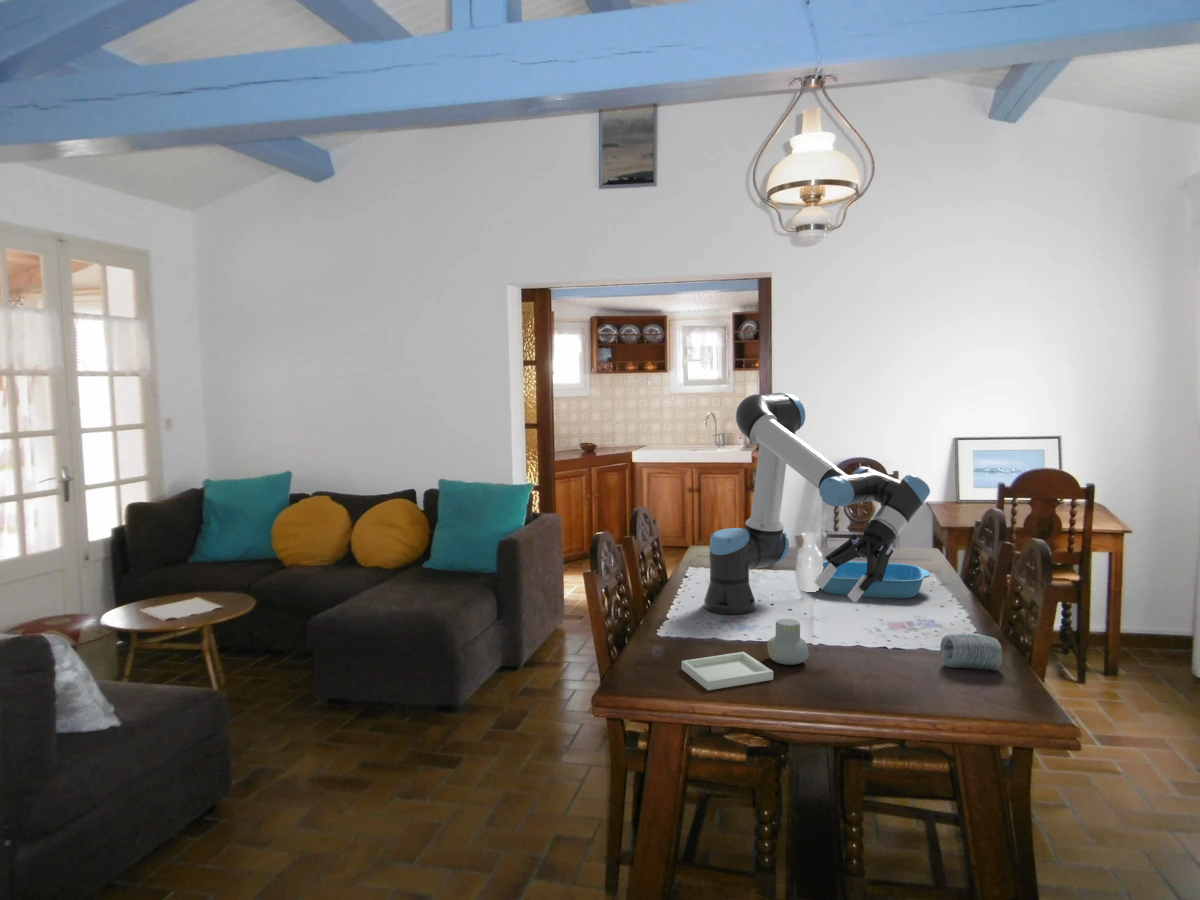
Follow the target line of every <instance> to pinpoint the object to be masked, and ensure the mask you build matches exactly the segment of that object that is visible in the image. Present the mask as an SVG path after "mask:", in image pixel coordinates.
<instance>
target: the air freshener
mask: <svg viewBox="0 0 1200 900" xmlns="http://www.w3.org/2000/svg"><path fill="white" fill-rule="evenodd" d="M766 646H767V652H768V655H769V658H770V659H771V660H772V661H773V662H775V663H777V664H780V665H787V666H794V665H795V666H796V665H799V664H801V663H803V662H805V661H806V660H808V659H809V653H810V652H809V647H808V644H807V642H806V640H804V638H802V637H801V622H800V621H798V620H796V619H792V618H780V619H778V620H776V622H775V636H772V637H771V638H770V639H769V640H768V641H767V645H766Z"/></svg>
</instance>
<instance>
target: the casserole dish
mask: <svg viewBox="0 0 1200 900" xmlns="http://www.w3.org/2000/svg"><path fill="white" fill-rule="evenodd" d="M822 561H823V567H824V568H825V567H826V565H827V564H828V561H827V560H822ZM836 563H837V562H836ZM866 573H867V561H856V560H850V561H848V562H846V563H844V564H842V565H840V566H838V567H837V571H836V572H835V574H834V575H833V576H832V577H831V579H830V580H829V581H828V582H827V584H826V585H825V586H824V588H823V589H821V590H822V591H823V592H824V593H827V594H829V595H836V596H847V595H848V594H849V592H850V591H851V590H852V589H853V587H854V586H855V585H856V583H857V582H858V581H859V580H860V578H861V577H862V576H863V575H865V574H866ZM865 576H866V575H865ZM930 576H931V573H930V571H929V570H927V569H924V568H922V567H920V566H918V565H914V564H909V563H897V562H896V563H895V562H888V564H887V568H886V571H885V575H884V578H883V581H882V582H879V581H875V582H873V583H872V584H871V585H870V587H869V588H868V589H867V590H866V591H865V592H864V593H863V594H862V595H861V597H863V598H864V597H867V598H877V599H879V598H881V599H882V598H883V599H911V598H913V597H915V596H916V595H917V594H919V592H920V590H921V587H922V584H923V581H924V579H926V578H929V577H930ZM866 577H867V576H866ZM847 597H848V596H847ZM861 597H860V598H861Z"/></svg>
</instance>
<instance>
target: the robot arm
mask: <svg viewBox="0 0 1200 900" xmlns="http://www.w3.org/2000/svg"><path fill="white" fill-rule="evenodd" d="M735 420H736V421H735V422H736V425H737V426H738V428H739V430H740V431H741V433H742V434H743V435H744V436H746V438H747V439H748V440H750V441H751V442H753V443H754V444H758V446H759V447H758V453H757V461H756V463H757V464H756V469H755V479H754V480H755V481H754V490H753V498H752V506H751V507H752V508H751V513H750V514H751V515H750V517H749V518H748V519H747V520H746V521H745V525H744V528H741V527H731V528H729V527H727V528H723V529H719V530H717V531H714V532H713V533H712V534H711V536H710V539H709V547H708V548H709V585H708V588H707V590H706V594H705V597H704V602H703V607H704V609H705V610H707V612H708V611H709V612H711V613H715V614H719V615H744V614H749V613H751V612H754V611H755V609H756V600H755V597H754V594H753V591H752V587H751V584H750V571H751V570H755V569H760V568H766V567H771V566H774V565H776V564H779V563H781V562H783V560H785V558H786V557H787V555H788V554H789V549H790V539H789V538H788V534H787V533H786V530H784V528H785V527H784V524H783V523H782V522H781V521H780V519H781V511H782V509H781V508H782V501H783V494H784V487H785V486H784V485H785V477H786V470H787V469H786V468H787V466H789V467H790V468H792V469H793V470H794V471H795V472H797V473H798V474H799V475H800V476H802V477H803V478H804V479H806V480H807V481H809V483H811V484H812V485H813V486H814V487H816V488H817V489H818V491H819V495H820V497H821V499H822V502H823V503H824V504H825V505H827V506H830V507H845V506H849V505H854V504H859V503H865V502H871V501H874V502H876V503H878V504H881V507H880V508H879V509H878V510H877V511H876V513H875V514H874V515H873V516H872V519H871V520H870V521H869V522H868V523H867V525H866V526H865V527H864V528H863V536H861V537H860V538H859V537H858V536H857V535H856V534H853V535H852V536H850V538H849V539H848V540H846V541H845V542H844V543H843V544H841V545H840V546H838V547H837V548H836V549H834V550H833V551H832V552H830V553H829V554H827V555H826V556H825V560H826V561H828V564H827V565H826V567H825V568H824V569H823V571H822V573H821V574H820V575H819V577H818V578H817V577H816V579H815V580H814V584H816V586H818V588H819V589H821V590H822V589H823V588H824V586H825V585H826V584H827V582H828V581H829V580H830V579H831V577H832V576H833V575H834V574H835V572H836V571H837V567H838V566H840V565H842V564H844V563H846V562H848V561H853V559H858V558H864V559H865V558H866V562H867V573H866V574H865V575H866V576H867V577H866V576H865V575H863V576H862V577H861V578H860V580H859V581H858V582H857V583H856V585H855V586H854V587H853V589H852V590H851V591H850V592H849V594H848V595H847V597H848V598H849V599H850V600H851V601H852V602H853V603H855V604H856V603H858V600H859V599H860V598H861V595H862V594H863V593H864V592H865V591H866V590H867V589H868V588H869V587H870V585H871V584H872V583H873V582H875V581H879V582H882V581H883V578H884V575H885V571H886V568H887V564H888V563H889V560H890V557H891V556H892V554H894V550H893V549H892V548H891V546H892V544H893V543H894V541H895V540H896V539H897V536H899V535H900V534H901V532H902V531H903V529H904V528H905V527H906V526H907V525H908V523H909V522H910V520H911V519H912V518H913V517H914V515H915V514H916V513H917V512H918V510H920V508H921V506H924V503H925V501H926V500H927V498H928V497H929V495H930V493H931V489H930V487H929V484H928V483H926V482H925V481H924V480H923V479H921V477H919V476H916V475H914V474H907V475H905V476H904V477H903V478H902V479H901V480H900V479H898V478H895V477H892V476H890V475H888V474H885V473H883V472H880V471H878V469H875V468H872V467H871V468H870V467H868V466H860V467H858V468H857V469H856V470H854V471H853V472H852V474H848V473H846V472H845V471H843V470H842V469H840V468H839V467H838V466H836V465H835V464H833V463H832V462H831V461H830V460H828V459H827V458H826V457H825V456H823V455H822V454H821V453H820V452H818V451H816V450H815V449H814V448H813V447H811V446H810V445H808V444H807V443H806V442H804V441H803V440H802V439H800V438H799V437H798V436H796V432H797V431H800V429H801V428H802V427H803V426H804V424H805V421H806V410H805V407H804V404H803V403H802V402H801V400H800V398H799V397H797V396H796V395H795V394H792V393H785V392H777V393H775V392H774V393H765V394H759V393H758V394H752V395H749V396H747V397H745V398H744V399H743V400H742V401H741V402H740V403H739V405H738V406H737V408H736V413H735ZM836 562H837V563H836Z"/></svg>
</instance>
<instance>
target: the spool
mask: <svg viewBox="0 0 1200 900" xmlns="http://www.w3.org/2000/svg"><path fill="white" fill-rule="evenodd" d="M939 649H940V657H941V660H942V662H943V664H944V665H945V667H948V668H951V669H954V668H957V669H958V668H963V669H964V668H965V669H975V670H976V669H977V670H978V669H979V670H987V671H988V670H990V671H991V670H992V671H996V670H998V669H999V668H1000V666H1001V664H1002V661H1003V649H1002V645H1001V643H1000V642H999V641H998V639H997V638H995V637H992V636H988V635H985V634H978V633H977V634H976V633H958V634H957V633H952V634H951V633H949V634H946V635H944V636H943V637H942V639H941V642H940V648H939Z"/></svg>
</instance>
